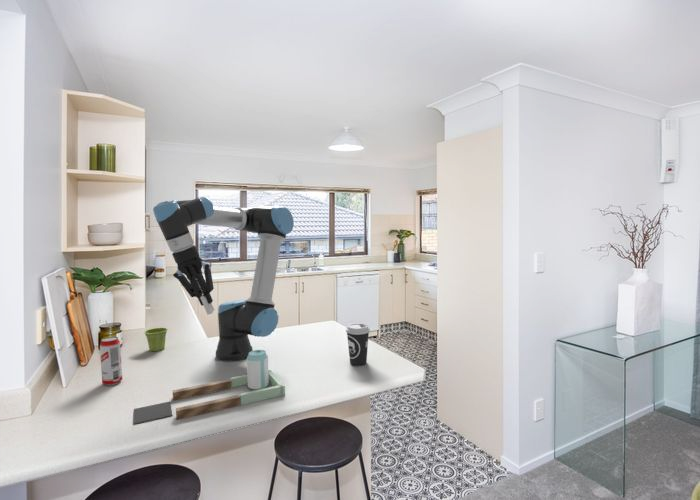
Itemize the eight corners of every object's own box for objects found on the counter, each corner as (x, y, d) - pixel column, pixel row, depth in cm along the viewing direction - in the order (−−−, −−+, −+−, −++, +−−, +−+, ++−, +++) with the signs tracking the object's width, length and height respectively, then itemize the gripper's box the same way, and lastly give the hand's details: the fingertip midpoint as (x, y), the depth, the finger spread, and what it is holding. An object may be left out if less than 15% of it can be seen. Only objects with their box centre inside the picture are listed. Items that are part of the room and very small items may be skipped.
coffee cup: (368, 368, 150) (367, 329, 149) (343, 366, 152) (343, 328, 151) (371, 359, 160) (371, 323, 159) (348, 358, 162) (348, 322, 161)
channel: (176, 419, 113) (176, 411, 113) (172, 397, 127) (172, 390, 127) (240, 405, 122) (239, 397, 122) (229, 386, 136) (229, 379, 136)
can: (244, 386, 136) (243, 352, 135) (263, 380, 140) (262, 347, 139) (253, 392, 130) (251, 357, 129) (272, 387, 135) (271, 352, 134)
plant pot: (148, 354, 170) (147, 334, 170) (142, 349, 177) (141, 330, 177) (171, 349, 176) (170, 330, 176) (164, 344, 184) (163, 326, 183)
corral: (240, 404, 122) (240, 395, 122) (230, 386, 136) (230, 377, 136) (285, 394, 128) (284, 385, 128) (270, 377, 143) (270, 369, 142)
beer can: (107, 387, 136) (105, 342, 135) (98, 384, 139) (95, 339, 138) (126, 381, 141) (123, 337, 140) (116, 378, 145) (114, 335, 144)
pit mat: (133, 424, 111) (133, 423, 111) (134, 409, 120) (134, 408, 120) (172, 415, 116) (172, 414, 116) (170, 402, 124) (170, 401, 124)
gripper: (159, 257, 125) (188, 322, 131) (196, 246, 123) (224, 312, 130) (170, 250, 132) (198, 312, 138) (206, 240, 130) (232, 302, 137)
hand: (211, 312), depth 134 cm, fingers closed
